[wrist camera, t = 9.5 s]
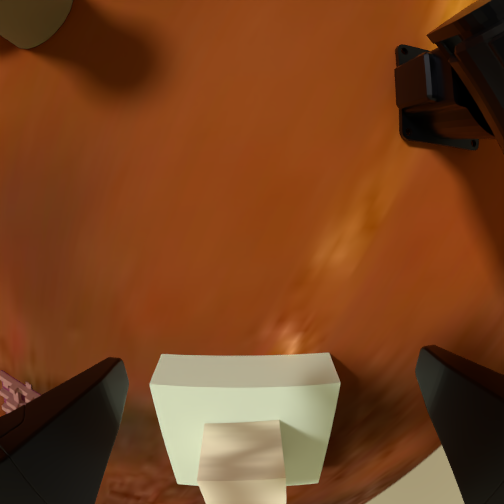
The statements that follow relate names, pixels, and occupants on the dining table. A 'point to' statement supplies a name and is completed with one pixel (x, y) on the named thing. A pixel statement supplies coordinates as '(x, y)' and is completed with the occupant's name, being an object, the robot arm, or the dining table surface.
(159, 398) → the sage block
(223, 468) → the birch cube
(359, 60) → the dining table surface
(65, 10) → the cork
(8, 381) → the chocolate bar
